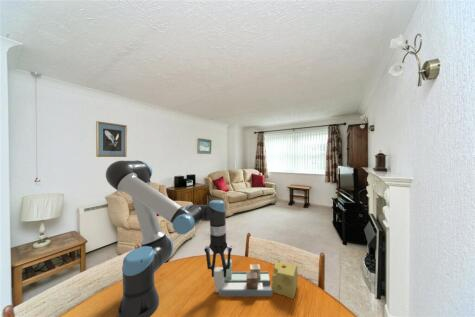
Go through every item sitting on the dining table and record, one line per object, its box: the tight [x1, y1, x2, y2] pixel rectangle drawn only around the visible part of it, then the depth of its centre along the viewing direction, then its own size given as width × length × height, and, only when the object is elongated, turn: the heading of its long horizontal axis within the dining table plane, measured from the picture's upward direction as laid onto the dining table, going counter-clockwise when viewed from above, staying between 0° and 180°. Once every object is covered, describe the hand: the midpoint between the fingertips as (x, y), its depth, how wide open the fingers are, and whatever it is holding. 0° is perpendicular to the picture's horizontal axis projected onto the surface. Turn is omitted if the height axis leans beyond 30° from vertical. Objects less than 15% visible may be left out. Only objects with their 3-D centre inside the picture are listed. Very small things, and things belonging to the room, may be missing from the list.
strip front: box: [214, 266, 263, 293], centre depth 84 cm, size 22×5×9 cm, turn 88°
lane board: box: [218, 270, 273, 297], centre depth 88 cm, size 24×14×3 cm, turn 88°
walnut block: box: [246, 273, 258, 289], centre depth 84 cm, size 5×4×5 cm
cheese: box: [271, 260, 299, 299], centre depth 85 cm, size 10×11×10 cm
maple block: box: [249, 263, 261, 280], centre depth 91 cm, size 5×4×5 cm
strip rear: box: [225, 258, 271, 281], centre depth 91 cm, size 22×5×9 cm, turn 88°
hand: (219, 283), depth 85 cm, fingers closed on strip front, 3 cm apart
